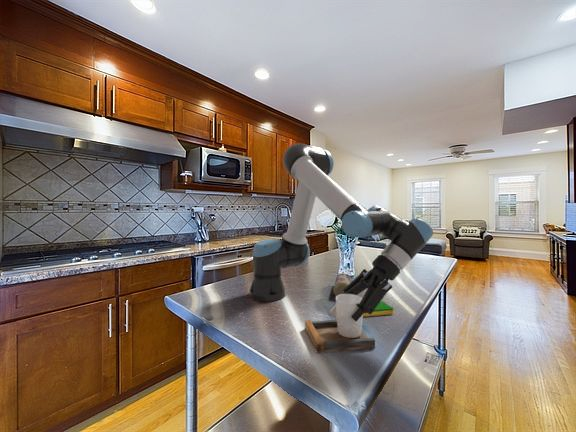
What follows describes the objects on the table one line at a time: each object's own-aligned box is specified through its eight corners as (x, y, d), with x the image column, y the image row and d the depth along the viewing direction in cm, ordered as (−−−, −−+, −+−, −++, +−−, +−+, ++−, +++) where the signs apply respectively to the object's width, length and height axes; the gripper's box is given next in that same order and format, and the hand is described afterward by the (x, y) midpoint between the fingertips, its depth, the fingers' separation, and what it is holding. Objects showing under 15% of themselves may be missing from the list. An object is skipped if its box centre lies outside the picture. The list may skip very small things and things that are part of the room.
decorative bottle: (351, 299, 105) (351, 283, 104) (332, 298, 107) (332, 282, 106) (352, 281, 130) (352, 268, 129) (337, 280, 132) (337, 267, 131)
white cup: (332, 326, 78) (332, 294, 78) (357, 325, 79) (357, 293, 78) (340, 340, 70) (340, 304, 70) (367, 338, 71) (368, 303, 70)
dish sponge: (348, 310, 95) (348, 303, 95) (382, 307, 97) (382, 301, 97) (357, 318, 88) (357, 311, 88) (393, 315, 90) (393, 308, 90)
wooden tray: (354, 324, 82) (354, 316, 82) (375, 347, 69) (375, 338, 68) (305, 328, 79) (305, 320, 79) (317, 353, 66) (317, 343, 66)
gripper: (421, 280, 66) (362, 347, 64) (380, 263, 86) (334, 314, 84) (403, 261, 65) (342, 328, 63) (365, 248, 85) (319, 299, 83)
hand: (338, 320), depth 74 cm, fingers closed on white cup, 8 cm apart
